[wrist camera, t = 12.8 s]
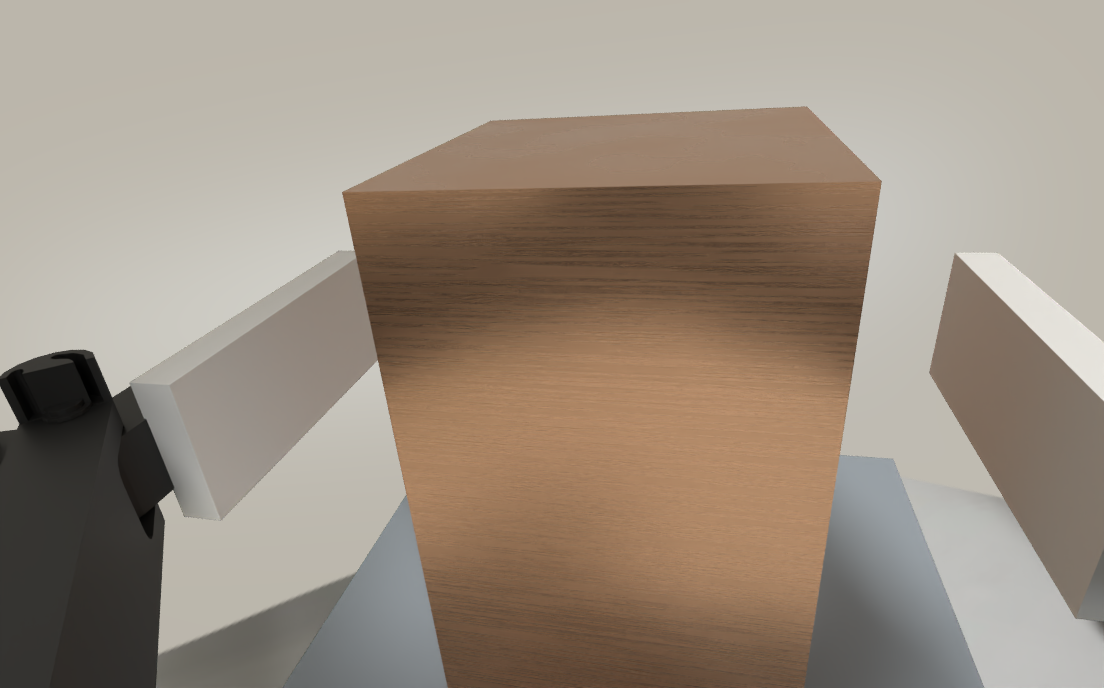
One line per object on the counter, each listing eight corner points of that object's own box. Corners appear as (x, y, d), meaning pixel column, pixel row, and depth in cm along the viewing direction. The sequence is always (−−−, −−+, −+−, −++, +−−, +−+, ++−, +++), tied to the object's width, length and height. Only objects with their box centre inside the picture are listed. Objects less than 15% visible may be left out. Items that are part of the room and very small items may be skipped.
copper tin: (764, 540, 19) (807, 106, 14) (788, 789, 13) (882, 181, 8) (533, 517, 20) (490, 120, 15) (456, 729, 14) (342, 192, 9)
